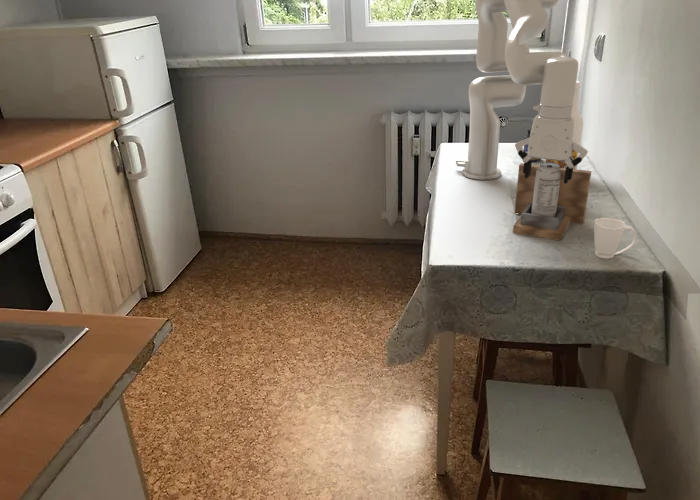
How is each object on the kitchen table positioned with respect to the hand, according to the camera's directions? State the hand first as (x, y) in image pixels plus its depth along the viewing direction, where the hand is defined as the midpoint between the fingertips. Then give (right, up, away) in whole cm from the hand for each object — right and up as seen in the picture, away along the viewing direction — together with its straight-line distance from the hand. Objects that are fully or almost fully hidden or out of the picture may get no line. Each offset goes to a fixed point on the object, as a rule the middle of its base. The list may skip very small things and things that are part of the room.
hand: (546, 179), depth 147 cm
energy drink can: (0, -10, +5) cm, 11 cm away
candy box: (+10, -4, +23) cm, 25 cm away
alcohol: (+19, +6, +43) cm, 48 cm away
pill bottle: (+15, +14, +60) cm, 63 cm away
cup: (+12, -19, -10) cm, 25 cm away
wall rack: (+1, -12, +6) cm, 13 cm away
